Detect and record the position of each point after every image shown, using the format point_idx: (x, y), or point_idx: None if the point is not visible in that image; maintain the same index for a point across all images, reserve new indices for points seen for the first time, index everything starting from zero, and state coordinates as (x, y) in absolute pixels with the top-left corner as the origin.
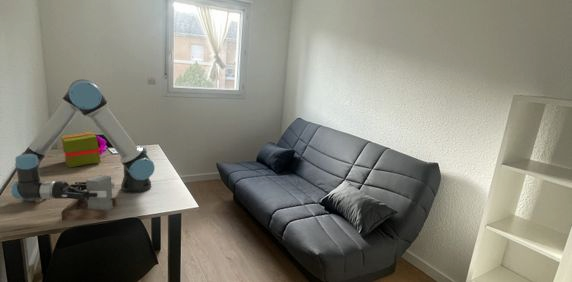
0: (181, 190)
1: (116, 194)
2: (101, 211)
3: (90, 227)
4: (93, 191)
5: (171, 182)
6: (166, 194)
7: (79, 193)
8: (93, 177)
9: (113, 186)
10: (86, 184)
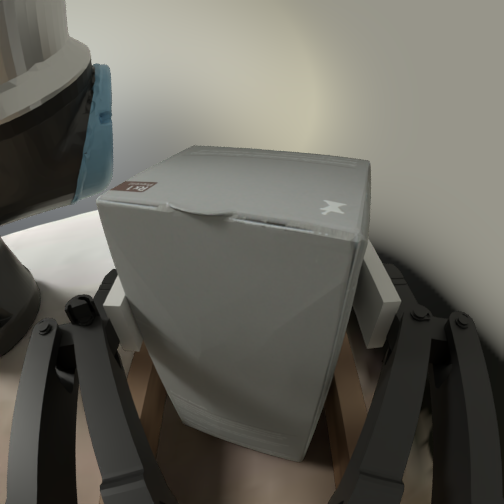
0: (92, 214)
1: (14, 383)
2: (350, 350)
3: (426, 388)
4: (385, 273)
5: (18, 241)
6: (104, 235)
7: (469, 361)
8: (209, 202)
9: None
10: (350, 302)
